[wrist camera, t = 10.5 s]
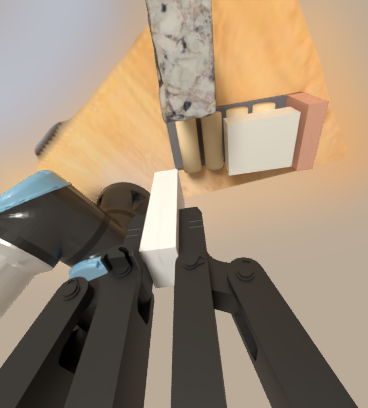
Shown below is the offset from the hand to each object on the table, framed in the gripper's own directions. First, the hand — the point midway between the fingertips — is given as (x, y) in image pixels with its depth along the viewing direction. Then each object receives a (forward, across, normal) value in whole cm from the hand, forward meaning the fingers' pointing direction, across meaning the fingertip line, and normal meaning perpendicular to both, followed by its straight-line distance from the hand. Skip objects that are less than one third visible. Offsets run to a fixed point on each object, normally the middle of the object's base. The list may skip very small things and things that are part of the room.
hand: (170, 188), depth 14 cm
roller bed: (+32, +10, -9) cm, 35 cm away
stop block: (+32, +22, -9) cm, 40 cm away
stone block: (+33, +2, +7) cm, 33 cm away
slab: (+28, +14, -9) cm, 32 cm away
